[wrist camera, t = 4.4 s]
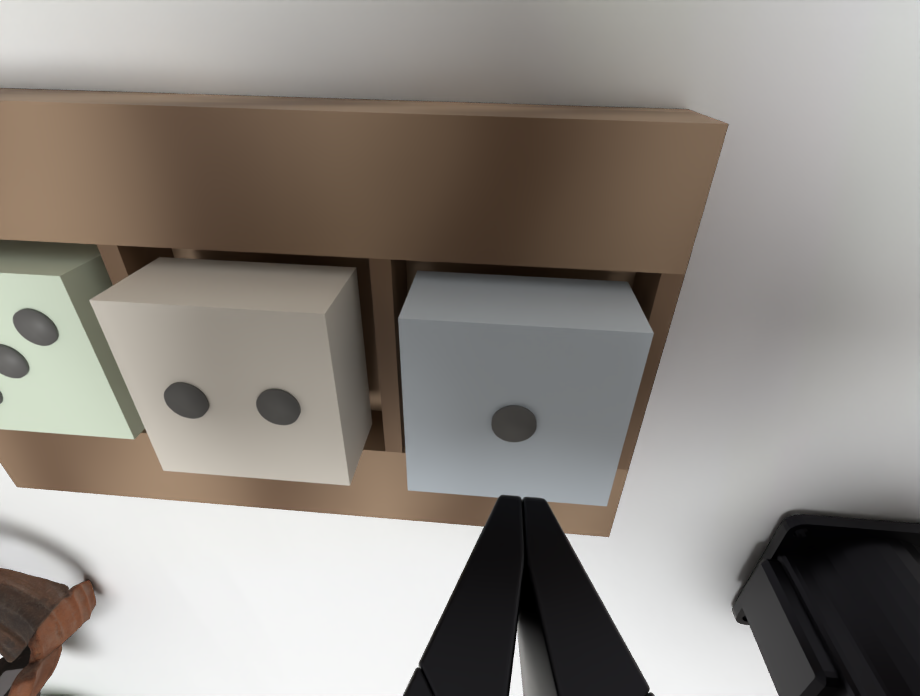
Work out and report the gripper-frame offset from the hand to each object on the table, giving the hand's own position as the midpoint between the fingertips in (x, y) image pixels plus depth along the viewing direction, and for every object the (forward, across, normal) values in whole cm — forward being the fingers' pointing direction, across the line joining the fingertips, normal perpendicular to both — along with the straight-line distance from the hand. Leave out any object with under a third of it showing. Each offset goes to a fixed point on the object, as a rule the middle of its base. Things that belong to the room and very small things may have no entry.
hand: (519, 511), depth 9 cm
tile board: (+6, +7, 0) cm, 9 cm away
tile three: (+6, +13, 0) cm, 14 cm away
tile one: (+5, 0, 0) cm, 5 cm away
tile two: (+5, +7, 0) cm, 8 cm away
